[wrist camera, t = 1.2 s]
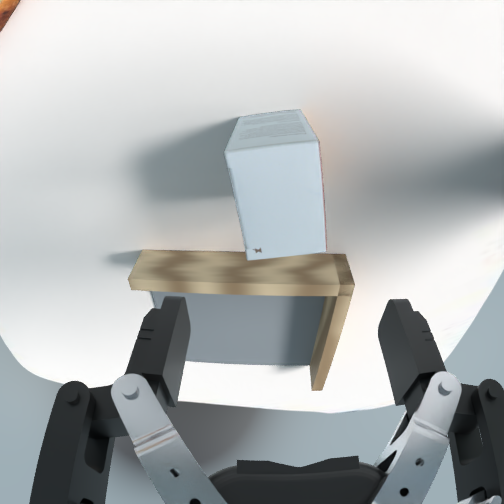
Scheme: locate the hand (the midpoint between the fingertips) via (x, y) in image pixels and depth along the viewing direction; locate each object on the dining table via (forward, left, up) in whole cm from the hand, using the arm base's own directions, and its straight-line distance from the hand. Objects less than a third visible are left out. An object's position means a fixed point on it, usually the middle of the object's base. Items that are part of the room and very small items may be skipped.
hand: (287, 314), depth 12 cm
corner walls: (+4, +22, -19) cm, 30 cm away
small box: (0, 0, -19) cm, 19 cm away
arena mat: (+4, +22, -19) cm, 30 cm away
